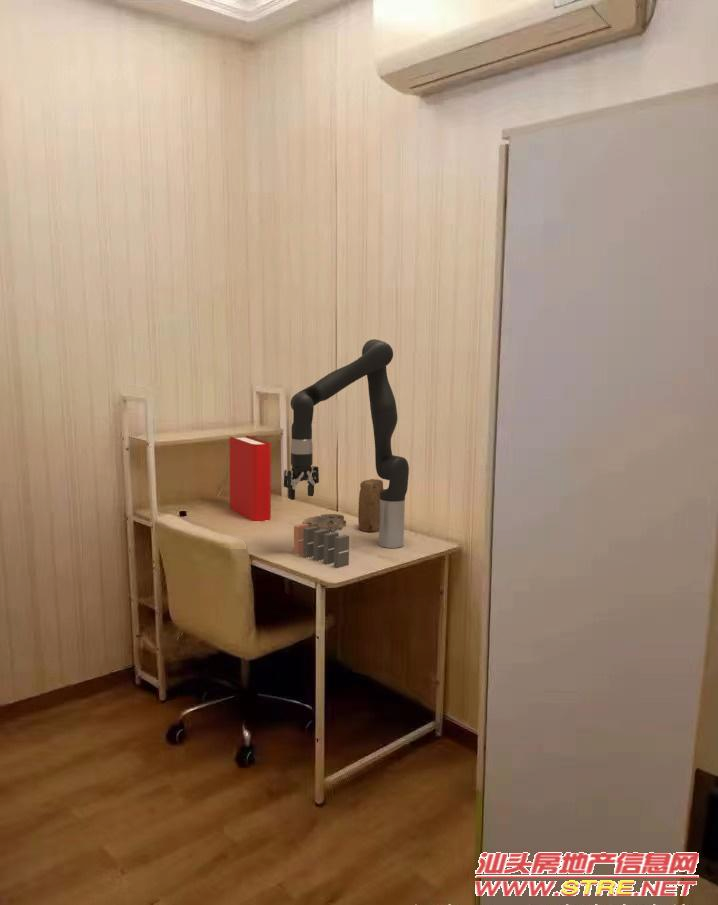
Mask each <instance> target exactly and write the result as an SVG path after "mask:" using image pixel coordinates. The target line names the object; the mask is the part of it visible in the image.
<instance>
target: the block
mask: <svg viewBox="0 0 718 905" xmlns="http://www.w3.org/2000/svg"><path fill="white" fill-rule="evenodd" d="M382 490H384V482H383V480H382V479H376V478H371V479H365V480H363V481H361V482H360V490H359V496H358V515H357V517H358V518H357V519H358V520H357V521H358V529H360V530H361V531H363V532H368V533H371V532H373V533H375V532H374V531H376V532H379V531H378V530H379V512H380V492H381V491H382Z"/></svg>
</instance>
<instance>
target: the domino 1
mask: <svg viewBox="0 0 718 905" xmlns="http://www.w3.org/2000/svg"><path fill="white" fill-rule="evenodd" d="M304 528H308V524H302V523H301V524H297V525H294V526H293V554H294V555H296V554H297V555H296V556H298V554H299V555H302V553H303V546H304Z"/></svg>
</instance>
